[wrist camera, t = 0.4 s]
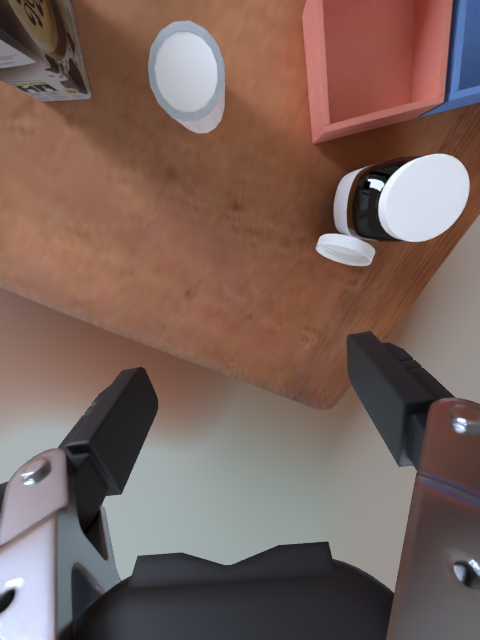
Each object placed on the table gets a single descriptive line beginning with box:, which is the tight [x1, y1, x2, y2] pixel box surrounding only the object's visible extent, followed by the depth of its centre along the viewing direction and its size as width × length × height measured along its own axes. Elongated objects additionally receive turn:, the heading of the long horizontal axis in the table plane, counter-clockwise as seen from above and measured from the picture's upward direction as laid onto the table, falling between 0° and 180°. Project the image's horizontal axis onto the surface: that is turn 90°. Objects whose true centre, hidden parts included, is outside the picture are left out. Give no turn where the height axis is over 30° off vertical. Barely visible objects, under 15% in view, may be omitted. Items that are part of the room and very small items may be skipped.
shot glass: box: [148, 21, 225, 133], centre depth 25 cm, size 7×7×7 cm
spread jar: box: [316, 154, 469, 266], centre depth 28 cm, size 12×11×12 cm
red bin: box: [302, 0, 453, 144], centre depth 25 cm, size 11×11×5 cm
